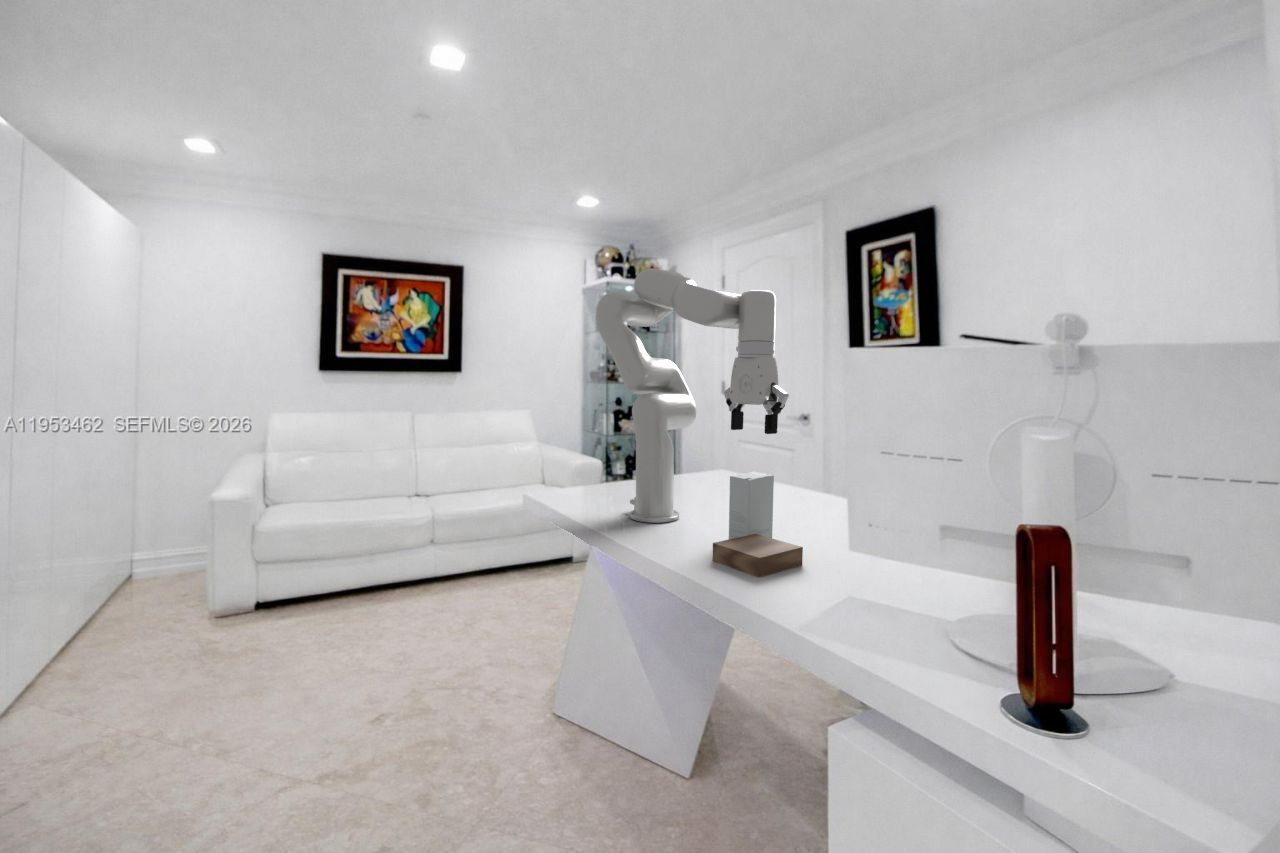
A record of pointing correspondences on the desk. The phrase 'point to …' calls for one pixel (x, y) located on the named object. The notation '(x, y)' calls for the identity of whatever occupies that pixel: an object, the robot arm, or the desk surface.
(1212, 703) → the desk surface
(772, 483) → the skincare box
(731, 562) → the walnut block
